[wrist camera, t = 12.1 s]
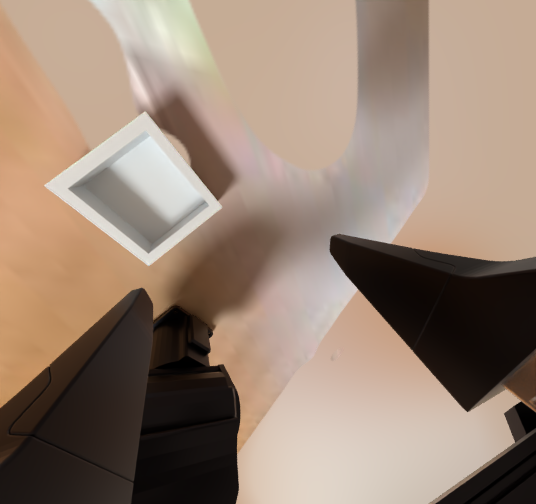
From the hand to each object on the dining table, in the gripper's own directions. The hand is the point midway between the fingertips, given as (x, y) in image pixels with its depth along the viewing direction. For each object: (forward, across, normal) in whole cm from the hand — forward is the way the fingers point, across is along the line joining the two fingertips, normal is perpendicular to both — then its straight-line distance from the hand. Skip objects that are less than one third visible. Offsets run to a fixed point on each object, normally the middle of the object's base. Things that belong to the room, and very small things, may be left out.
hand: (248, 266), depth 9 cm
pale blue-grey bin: (+12, +6, -2) cm, 14 cm away
